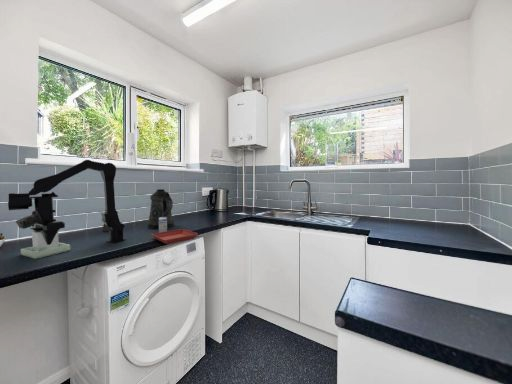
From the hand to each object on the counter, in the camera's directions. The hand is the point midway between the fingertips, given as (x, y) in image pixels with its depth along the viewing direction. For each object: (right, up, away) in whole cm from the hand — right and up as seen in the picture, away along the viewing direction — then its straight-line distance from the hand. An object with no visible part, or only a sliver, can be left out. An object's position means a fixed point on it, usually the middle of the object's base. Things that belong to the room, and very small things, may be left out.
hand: (46, 243), depth 97 cm
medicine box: (+35, -2, +37) cm, 51 cm away
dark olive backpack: (+28, -1, +54) cm, 61 cm away
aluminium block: (0, -2, 0) cm, 2 cm away
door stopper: (0, -2, +45) cm, 45 cm away
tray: (0, -4, 0) cm, 4 cm away
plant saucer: (+47, -3, +22) cm, 53 cm away
